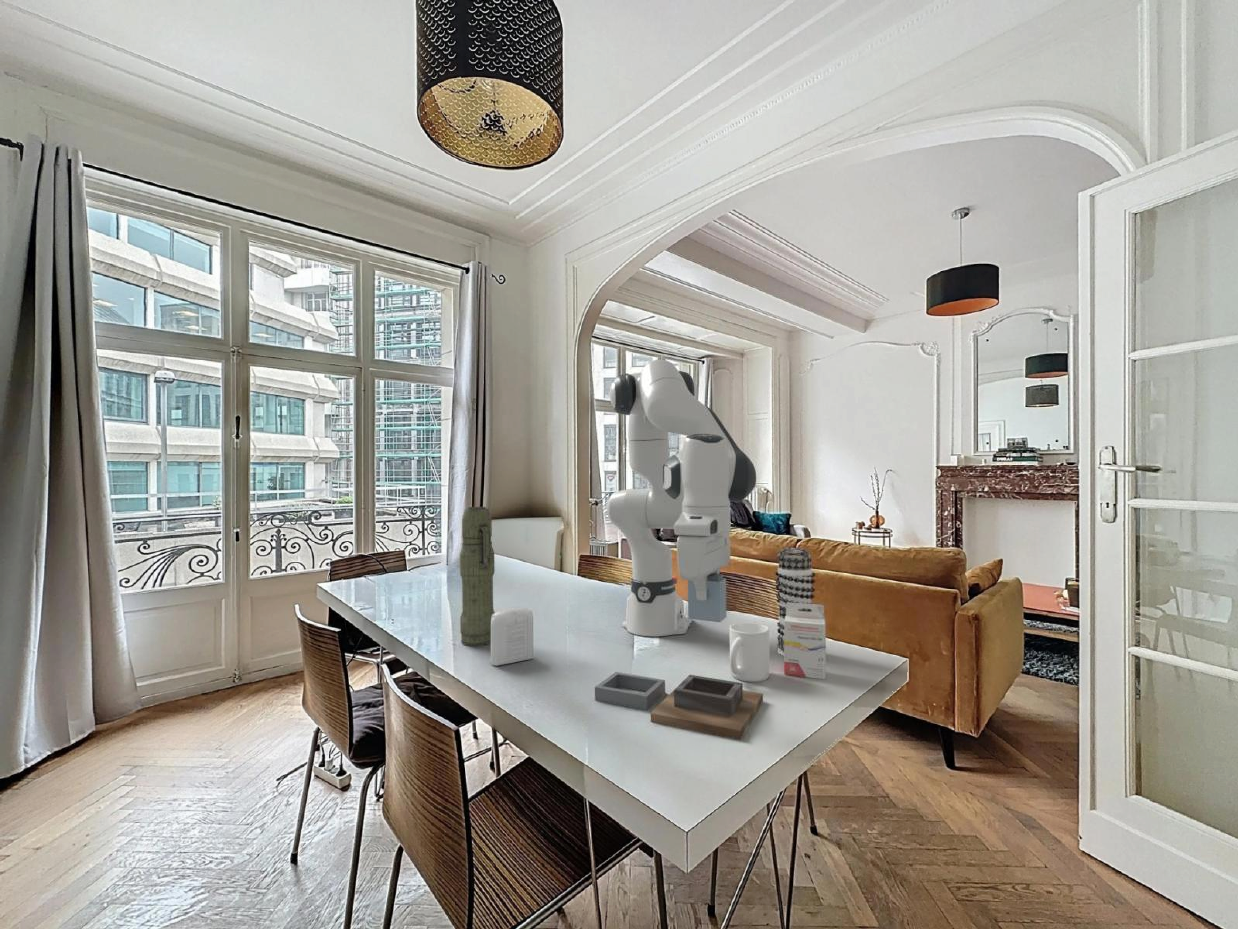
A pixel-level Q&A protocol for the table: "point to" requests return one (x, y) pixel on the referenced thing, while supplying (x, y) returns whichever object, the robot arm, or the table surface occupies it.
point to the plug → (708, 600)
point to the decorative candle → (793, 584)
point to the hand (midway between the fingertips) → (707, 596)
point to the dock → (709, 707)
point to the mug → (749, 652)
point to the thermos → (476, 576)
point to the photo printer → (511, 636)
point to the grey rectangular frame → (629, 698)
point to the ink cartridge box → (805, 641)
